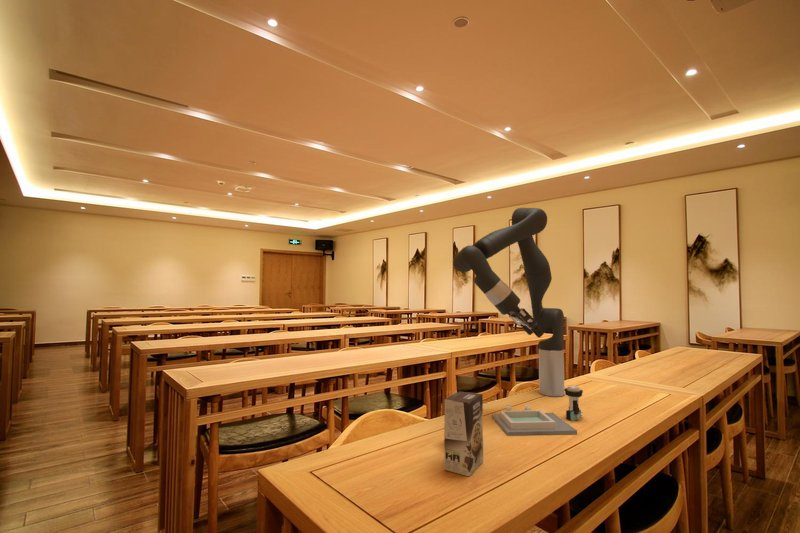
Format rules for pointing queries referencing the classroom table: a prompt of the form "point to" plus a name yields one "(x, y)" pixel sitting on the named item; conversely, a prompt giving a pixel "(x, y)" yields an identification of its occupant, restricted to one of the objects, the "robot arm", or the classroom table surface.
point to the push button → (573, 402)
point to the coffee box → (463, 432)
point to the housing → (531, 422)
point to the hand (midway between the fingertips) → (536, 334)
